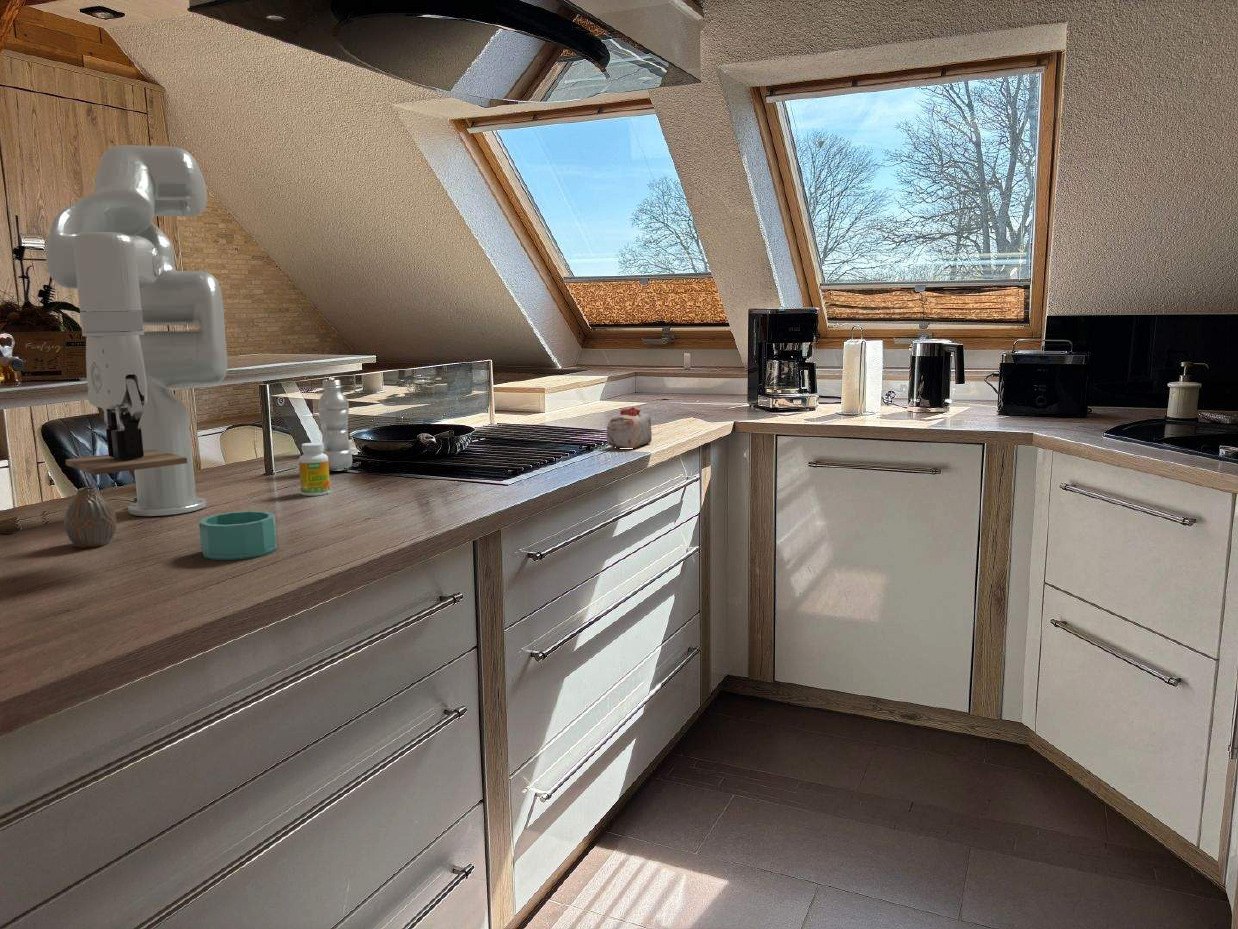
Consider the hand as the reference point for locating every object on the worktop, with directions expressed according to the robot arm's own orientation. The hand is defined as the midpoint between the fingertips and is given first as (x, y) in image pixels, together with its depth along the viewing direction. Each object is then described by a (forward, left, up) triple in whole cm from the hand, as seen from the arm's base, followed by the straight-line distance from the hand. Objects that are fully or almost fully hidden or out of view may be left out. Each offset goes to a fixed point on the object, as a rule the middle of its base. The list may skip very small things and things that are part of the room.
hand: (126, 456), depth 133 cm
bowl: (+7, +12, -15) cm, 20 cm away
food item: (-21, +125, -15) cm, 128 cm away
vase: (-15, -1, -15) cm, 21 cm away
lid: (0, 0, -1) cm, 1 cm away
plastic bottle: (-46, +58, -15) cm, 75 cm away
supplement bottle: (-26, +42, -15) cm, 52 cm away
